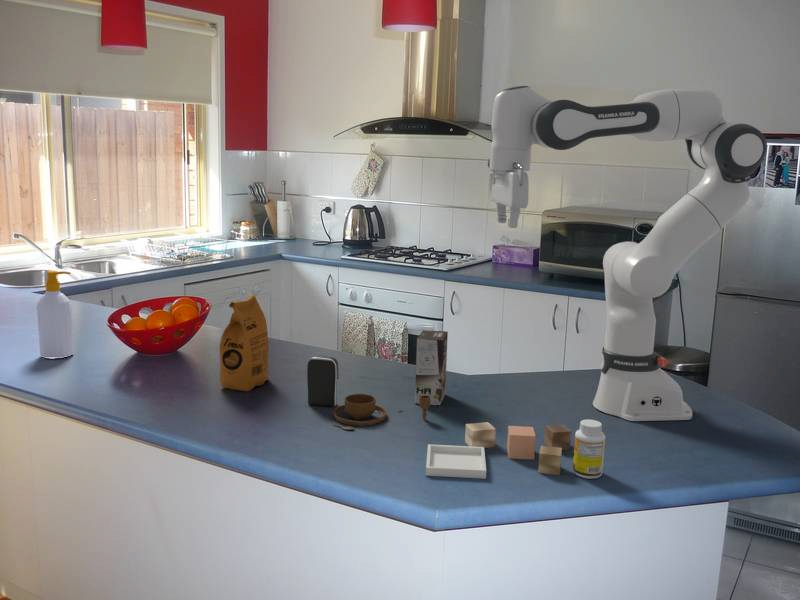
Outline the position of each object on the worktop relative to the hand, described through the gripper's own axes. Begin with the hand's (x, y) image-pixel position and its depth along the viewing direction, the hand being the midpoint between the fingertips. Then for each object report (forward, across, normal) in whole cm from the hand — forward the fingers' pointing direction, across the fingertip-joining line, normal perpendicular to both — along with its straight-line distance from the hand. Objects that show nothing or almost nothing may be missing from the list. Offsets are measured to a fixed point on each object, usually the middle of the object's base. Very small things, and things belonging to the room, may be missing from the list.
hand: (506, 225), depth 173 cm
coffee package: (+43, +21, +60) cm, 77 cm away
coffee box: (+43, +8, +15) cm, 46 cm away
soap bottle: (+43, +48, +113) cm, 130 cm away
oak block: (+43, -34, -2) cm, 55 cm away
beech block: (+43, -21, +9) cm, 49 cm away
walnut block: (+43, -23, -7) cm, 50 cm away
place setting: (+44, -6, +29) cm, 53 cm away
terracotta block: (+43, -26, +2) cm, 51 cm away
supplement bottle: (+43, -36, -8) cm, 57 cm away
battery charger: (+43, +5, +41) cm, 60 cm away
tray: (+43, -31, +16) cm, 55 cm away
